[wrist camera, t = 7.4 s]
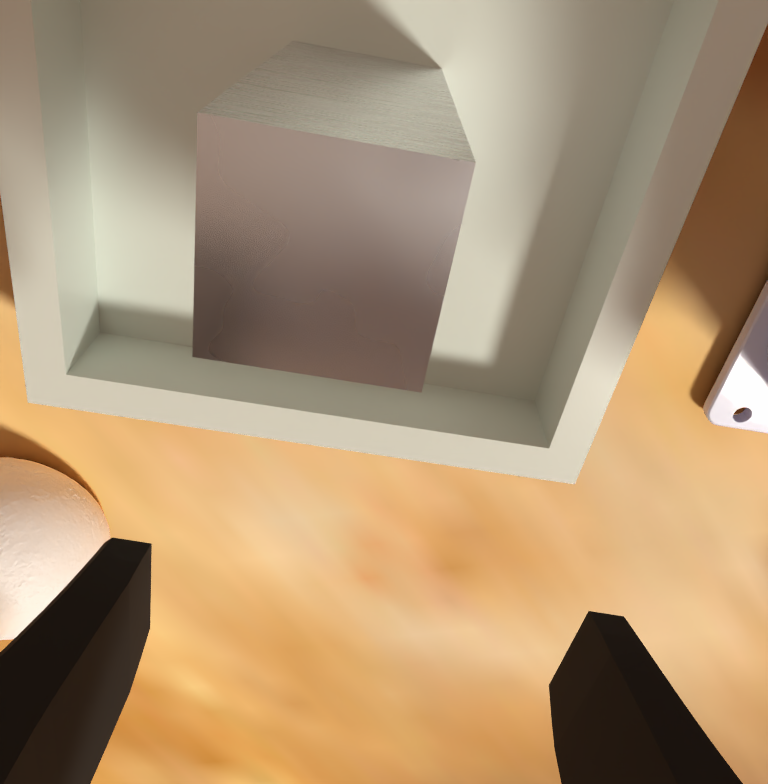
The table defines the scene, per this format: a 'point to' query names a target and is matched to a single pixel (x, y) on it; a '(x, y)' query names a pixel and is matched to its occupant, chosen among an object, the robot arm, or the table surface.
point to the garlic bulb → (41, 538)
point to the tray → (476, 237)
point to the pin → (328, 216)
